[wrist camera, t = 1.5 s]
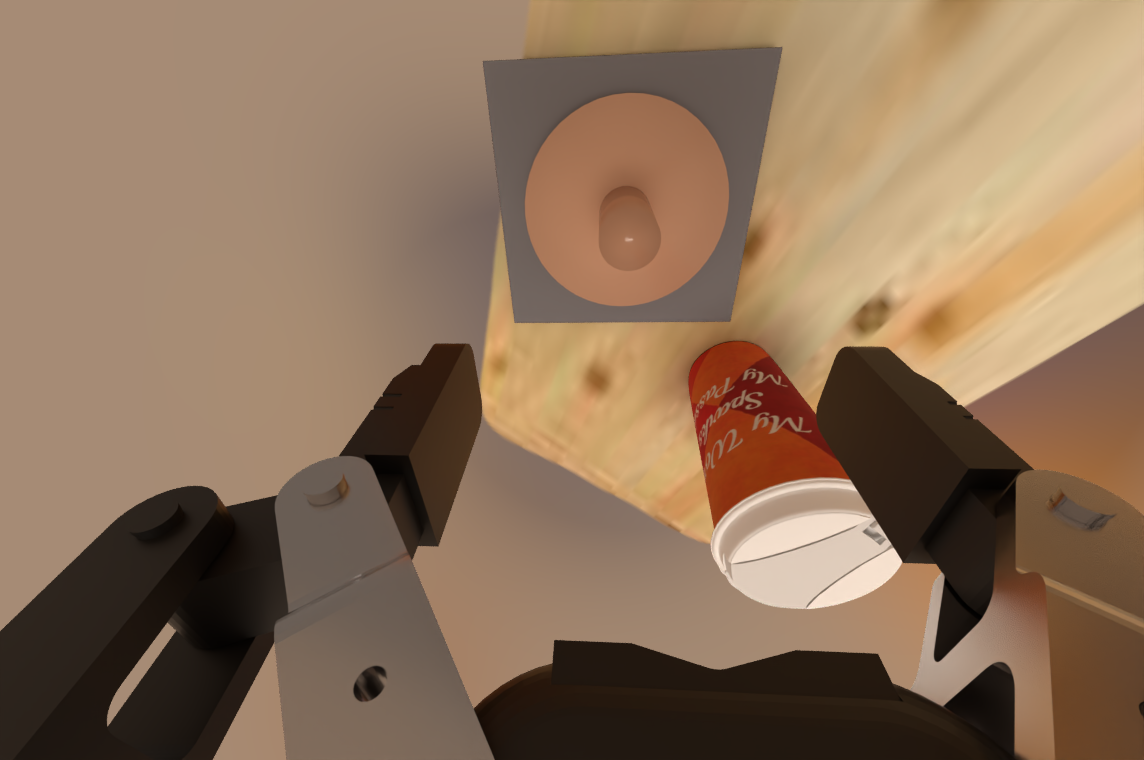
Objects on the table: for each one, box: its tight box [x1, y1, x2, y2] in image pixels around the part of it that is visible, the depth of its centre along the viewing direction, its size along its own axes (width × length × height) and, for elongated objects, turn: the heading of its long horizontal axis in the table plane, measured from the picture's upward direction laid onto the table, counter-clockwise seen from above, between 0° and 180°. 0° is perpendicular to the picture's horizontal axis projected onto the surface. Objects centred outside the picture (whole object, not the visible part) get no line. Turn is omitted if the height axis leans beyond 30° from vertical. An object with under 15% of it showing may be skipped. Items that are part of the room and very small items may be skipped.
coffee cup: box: [689, 341, 902, 609], centre depth 25 cm, size 8×8×15 cm
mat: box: [483, 47, 782, 323], centre depth 25 cm, size 14×14×1 cm
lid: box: [525, 93, 729, 306], centre depth 22 cm, size 11×11×6 cm
